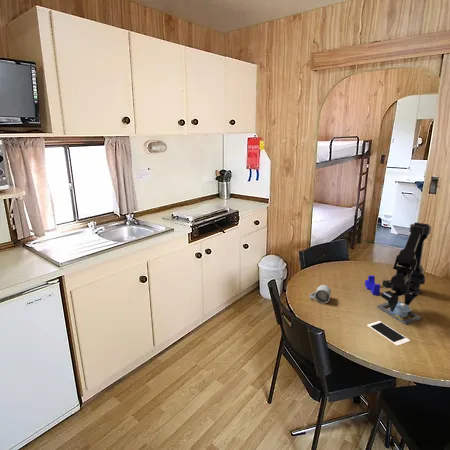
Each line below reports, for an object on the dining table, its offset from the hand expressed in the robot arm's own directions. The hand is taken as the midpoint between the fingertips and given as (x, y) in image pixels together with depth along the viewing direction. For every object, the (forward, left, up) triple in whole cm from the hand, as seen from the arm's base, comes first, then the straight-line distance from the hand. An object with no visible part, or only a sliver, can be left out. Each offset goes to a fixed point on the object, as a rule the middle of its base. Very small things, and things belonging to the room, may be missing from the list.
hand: (398, 309), depth 153 cm
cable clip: (-7, -23, -3) cm, 24 cm away
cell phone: (+17, +9, -3) cm, 19 cm away
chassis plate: (0, 0, -2) cm, 2 cm away
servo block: (0, 0, -2) cm, 2 cm away
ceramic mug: (+25, -26, -3) cm, 37 cm away
